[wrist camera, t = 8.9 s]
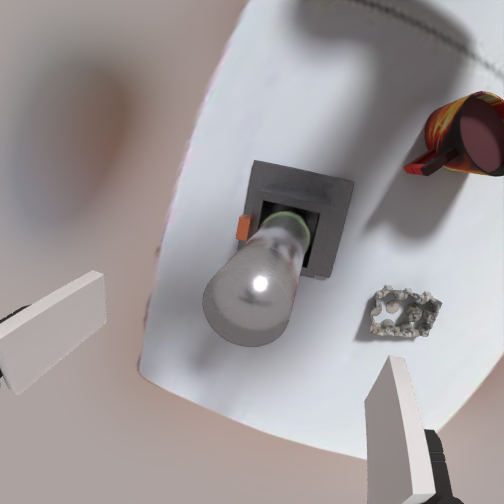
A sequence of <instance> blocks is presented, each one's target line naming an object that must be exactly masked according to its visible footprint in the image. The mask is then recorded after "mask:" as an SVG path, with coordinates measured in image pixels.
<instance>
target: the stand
mask: <svg viewBox="0 0 504 504" xmlns="http://www.w3.org/2000/svg"><path fill="white" fill-rule="evenodd" d="M353 186H354V182H351V181H347V180H343V179H339V178H335V177H331V176H327V175H323V174H319V173H314V172H310V171H306V170H301V169H297V168H292V167H287V166H282V165H278V164H273V163H268V162H262V161H257V160H254V164H253V169H252V174H251V180H250V185H249V191H248V196H247V202H246V207H245V213H244V215H242V216H241V217H239V223H238V229H237V234H236V239H240V241H239V247H238V251H239V250H240V249H241V248H242V247H243V246H244V245H245V244H246V243H247V241H248V240H249V239H250V238H251V237H252V236H253V235H254V234H255V233H256V232H257V231H258V230H259V228H260V226H261V224H262V223H263V222H264V220H265V219H266V218H267V217H268V216H270V215H271V214H273V213H275V212H277V211H281V210H293V211H296V212H298V213H300V214H301V215H302V216H303V217H304V218H305V219H306V221H307V223H308V226H309V230H310V242H309V246H308V249H307V251H306V253H305V254H304V259H303V263H302V268H301V272H300V275H303V276H307V277H311V278H314V274H317V275H321V276H325V277H329V278H330V275H331V271H332V268H333V264H334V261H335V257H336V253H337V250H338V246H339V242H340V239H341V235H342V231H343V227H344V223H345V219H346V215H347V211H348V207H349V203H350V199H351V194H352V190H353Z"/></svg>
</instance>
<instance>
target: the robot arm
mask: <svg viewBox="0 0 504 504" xmlns="http://www.w3.org/2000/svg"><path fill="white" fill-rule="evenodd" d="M104 281H105V280H104V274H102V273H99V272H96V271H94V270H92V271H90V272H89V273H87V274H85V275H83V276H81V277H79V278H78V279H76V280H74V281H72V282H70V283H69V284H67V285H65V286H63V287H62V288H60V289H58V290H56V291H54V292H53V293H51V294H49V295H48V296H46V297H44V298H42V299H41V300H39V301H37V302H35V303H34V304H31V305H28V306H24V307H21V308H20V309H18V310H16V311H15V312H13V314H10V315H8V316H7V317H6V318H3V319H2V320H0V378H1V377H2V376H3V378H4V380H5V382H6V385H7V387H8V388H9V389H11V390H12V391H13V392H14V393H15V394H16V395H17V396H18V395H20V394H21V393H22V392H23V391H24V390H25V389H27V388H28V387H29V386H30V385H31V384H33V383H34V382H35V381H36V380H37V379H39V378H40V377H41V376H42V375H43V374H44V373H45V372H47V371H48V370H49V369H50V368H52V367H53V366H54V365H55V364H56V363H58V362H59V361H60V360H61V359H62V358H64V357H65V356H66V355H67V354H68V353H70V352H71V351H72V350H73V349H75V347H77V346H78V345H80V344H81V343H82V342H83V341H84V340H86V339H87V338H88V337H89V336H91V335H92V334H93V333H94V332H96V331H97V330H98V329H99V328H101V327H102V326H103V325H104V324H106V323H107V319H106V305H105V304H106V303H105V282H104ZM364 402H365V417H366V435H367V463H368V501H367V504H464V503H463V502H462V501H461V500H460V499H458V498H455V497H453V495H452V490H451V485H450V480H449V475H448V470H447V465H446V463H445V456H444V454H443V448H442V444H441V440H440V438H439V437H438V436H437V434H436V433H435V431H434V430H426V429H424V428H423V424H422V419H421V415H420V411H419V407H418V403H417V400H416V396H415V392H414V388H413V385H412V381H411V378H410V374H409V371H408V368H407V364H406V361H405V358H400V357H395V356H390V355H389V356H388V358H387V360H386V362H385V364H384V366H383V368H382V370H381V372H380V374H379V376H378V378H377V380H376V381H375V383H374V385H373V387H372V389H371V391H370V392H369V394H368V396H367V398H366V399H365V401H364Z"/></svg>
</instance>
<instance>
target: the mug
mask: <svg viewBox="0 0 504 504" xmlns="http://www.w3.org/2000/svg"><path fill="white" fill-rule="evenodd" d="M425 141H426V145H427V148H428V150H429V151H427V152H426V153H425V154H423V155H422V156H420V157H419V158H417V159H416V160H414V161H413V162H411V163H410V164H408V165H406V166H405V167H404V169H405V171H406V173H409V174H418V175H424V176H429V175H430V174H432V173H434V172H435V171H437V170H438V169H440V168H441V167H444V168H445V169H448V170H451V171H458V172H466V173H474V174H481V175H489V176H495V177H496V176H503V175H504V100H503V99H501V98H500V97H499V96H497V95H495V94H493V93H490V92H484V91H480V92H476V93H473V94H471V95H468V96H466V97H464V98H461V99H459V100H457V101H454V102H452V103H450V104H447V105H445V106H443V107H440V108H438V109H437V110H435V111H434V112H433V113H432V114H431V115H430V116H429V118H428V120H427V122H426V126H425ZM433 158H434V159H433ZM431 159H433V160H432V161H430V160H431ZM428 161H430V162H429V163H427V162H428ZM426 163H427V164H426Z"/></svg>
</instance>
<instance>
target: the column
mask: <svg viewBox="0 0 504 504" xmlns="http://www.w3.org/2000/svg"><path fill="white" fill-rule="evenodd" d="M309 242H310V230H309V226H308V223H307V221H306V219H305V218H304V217H303V216H302V215H301V214H300V213H298V212H296V211H293V210H281V211H277V212H275V213H273V214H271V215H270V216H268V217H267V218H266V219H265V220H264V222H263V223H262V224H261V226H260V228H259V230H258V231H257V232H256V233H255V234H254V235H253V236H252V237H251V238H250V239H249V240H248V241H247V243H246V244H245V245H244V246H243V247H242V248H241V249H240V250H239V251H238V252H237V253H236V254H235V255H234V256H233V257H232V258H231V259H230V260H229V261H228V262H227V263H226V264H225V266H224V267H223V268H222V269H221V270H220V271H219V272H218V273H217V274H216V275H215V276H214V277H213V278H212V279H211V280H210V282H209V283H208V285H207V286H206V288H205V291H204V295H203V309H204V313H205V316H206V319H207V321H208V322H209V324H210V325H211V327H212V328H213V329H214V331H215V332H217V333H218V334H219V335H220V336H221V337H222V338H224V339H226V340H227V341H229V342H231V343H234V344H236V345H240V346H245V347H258V346H263V345H266V344H269V343H271V342H273V341H274V340H276V339H277V338H278V337H279V336H280V335H281V334H282V333H283V332H284V330H285V328H286V327H287V324H288V321H289V317H290V313H291V309H292V305H293V301H294V297H295V293H296V289H297V285H298V280H299V276H300V272H301V268H302V263H303V259H304V254H305V253H306V251H307V249H308V246H309Z"/></svg>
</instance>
